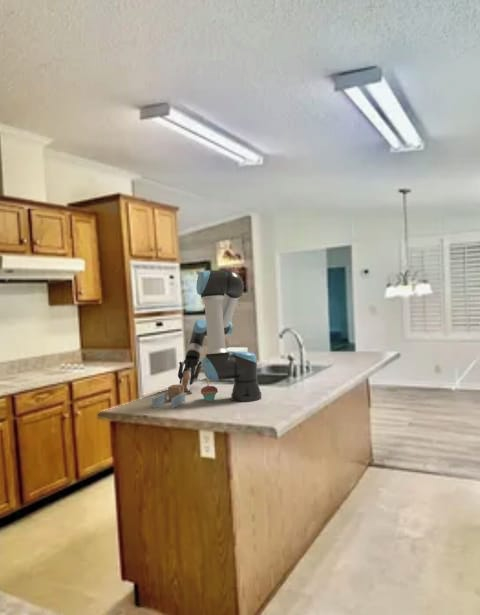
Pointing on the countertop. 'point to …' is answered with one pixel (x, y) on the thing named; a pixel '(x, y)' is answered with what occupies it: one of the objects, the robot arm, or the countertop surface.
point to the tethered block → (179, 387)
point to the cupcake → (209, 392)
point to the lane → (163, 398)
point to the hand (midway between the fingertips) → (184, 389)
